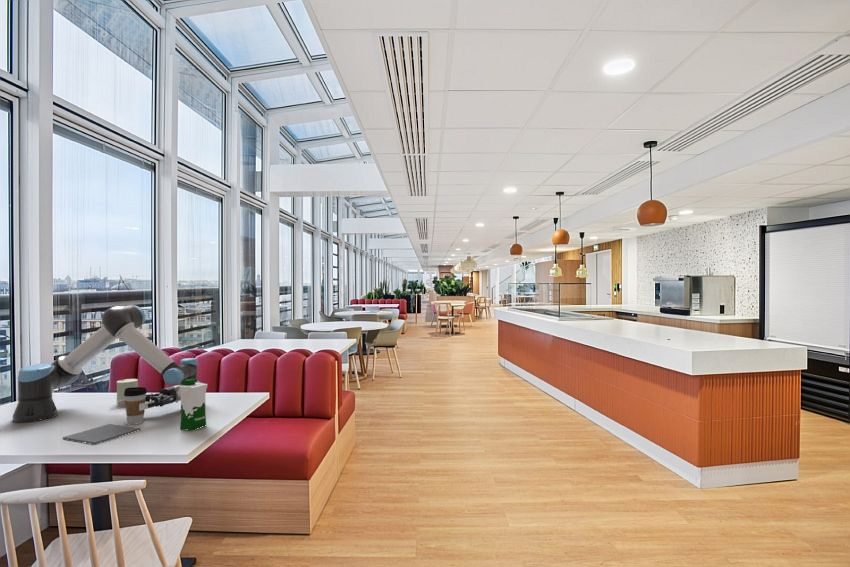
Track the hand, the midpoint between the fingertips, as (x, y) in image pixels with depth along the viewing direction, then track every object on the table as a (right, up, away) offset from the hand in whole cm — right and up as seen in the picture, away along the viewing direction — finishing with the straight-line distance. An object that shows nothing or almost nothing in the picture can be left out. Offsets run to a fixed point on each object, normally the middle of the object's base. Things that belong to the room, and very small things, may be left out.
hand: (128, 406), depth 191 cm
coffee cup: (+1, -8, +3) cm, 9 cm away
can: (-24, -9, +36) cm, 44 cm away
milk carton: (+30, -8, -4) cm, 32 cm away
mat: (-1, -8, -13) cm, 15 cm away
